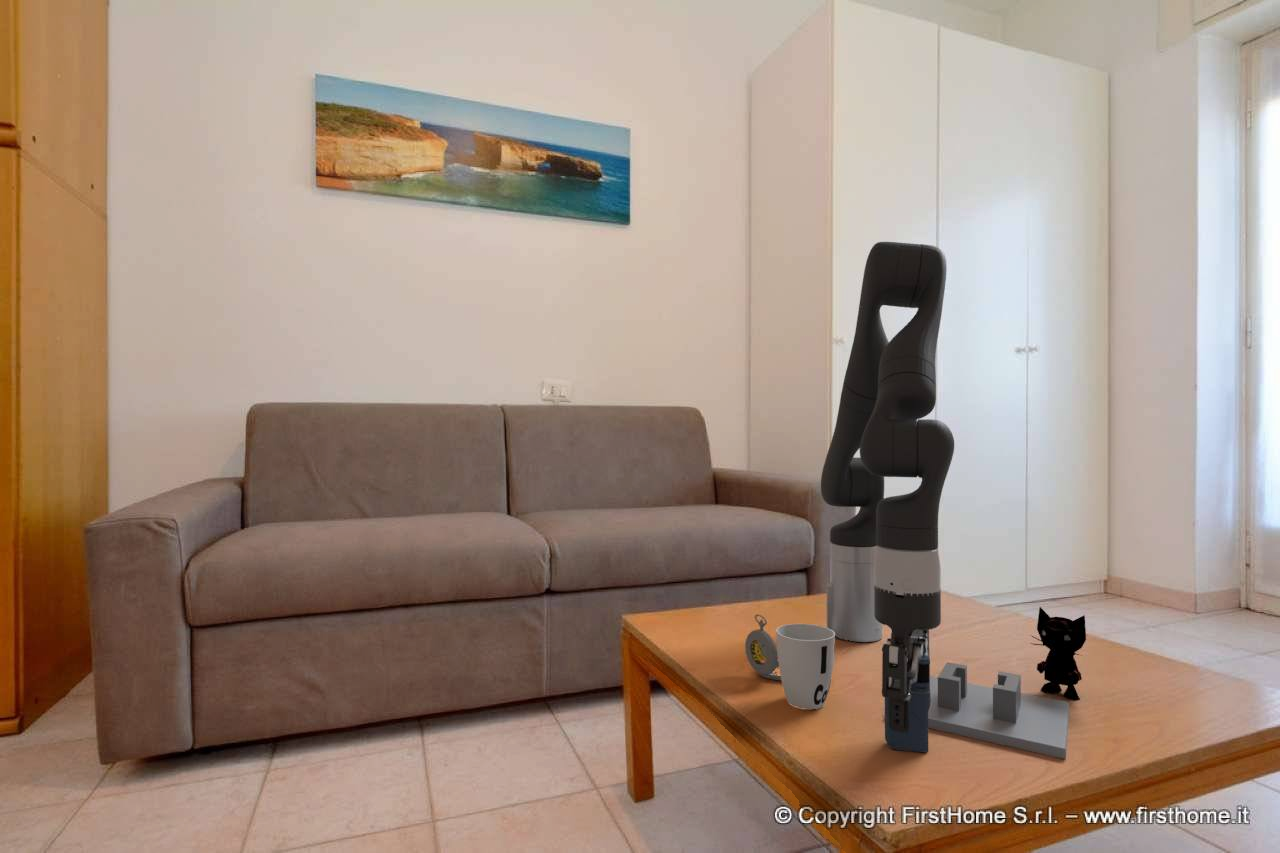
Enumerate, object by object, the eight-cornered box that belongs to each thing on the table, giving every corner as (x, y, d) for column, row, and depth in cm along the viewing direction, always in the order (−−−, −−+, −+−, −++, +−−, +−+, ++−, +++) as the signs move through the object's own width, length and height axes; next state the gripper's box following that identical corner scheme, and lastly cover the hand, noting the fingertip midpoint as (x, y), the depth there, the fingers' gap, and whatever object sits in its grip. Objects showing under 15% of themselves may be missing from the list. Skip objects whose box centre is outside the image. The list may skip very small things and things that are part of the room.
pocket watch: (803, 670, 107) (803, 608, 107) (792, 689, 99) (792, 622, 99) (753, 663, 110) (753, 602, 110) (739, 681, 103) (738, 615, 103)
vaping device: (933, 754, 79) (932, 652, 80) (886, 750, 81) (886, 650, 81) (928, 744, 82) (927, 646, 82) (883, 740, 83) (882, 643, 83)
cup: (825, 719, 89) (825, 644, 89) (767, 706, 93) (767, 634, 93) (842, 698, 96) (842, 628, 96) (787, 687, 100) (787, 620, 100)
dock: (887, 718, 89) (887, 679, 89) (914, 680, 103) (913, 646, 103) (1065, 759, 78) (1065, 714, 78) (1069, 711, 91) (1068, 672, 91)
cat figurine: (1025, 690, 98) (1025, 609, 99) (1045, 680, 103) (1045, 602, 103) (1080, 706, 93) (1079, 620, 93) (1098, 694, 97) (1098, 611, 97)
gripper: (889, 569, 89) (890, 691, 89) (858, 591, 78) (859, 732, 77) (950, 576, 85) (951, 704, 85) (928, 600, 73) (928, 749, 73)
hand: (907, 717), depth 81 cm, fingers open, 8 cm apart
